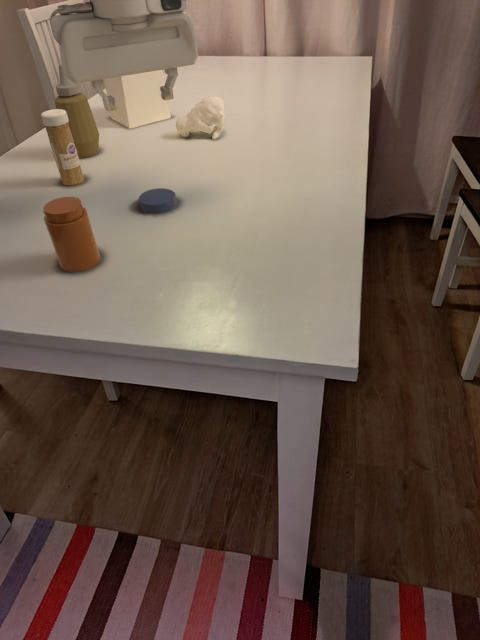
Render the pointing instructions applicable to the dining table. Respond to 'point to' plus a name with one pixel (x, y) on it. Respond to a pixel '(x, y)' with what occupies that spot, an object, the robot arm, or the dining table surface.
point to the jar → (71, 234)
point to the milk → (138, 98)
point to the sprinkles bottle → (63, 146)
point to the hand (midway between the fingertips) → (139, 104)
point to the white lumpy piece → (203, 117)
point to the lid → (157, 200)
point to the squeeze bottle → (77, 116)
